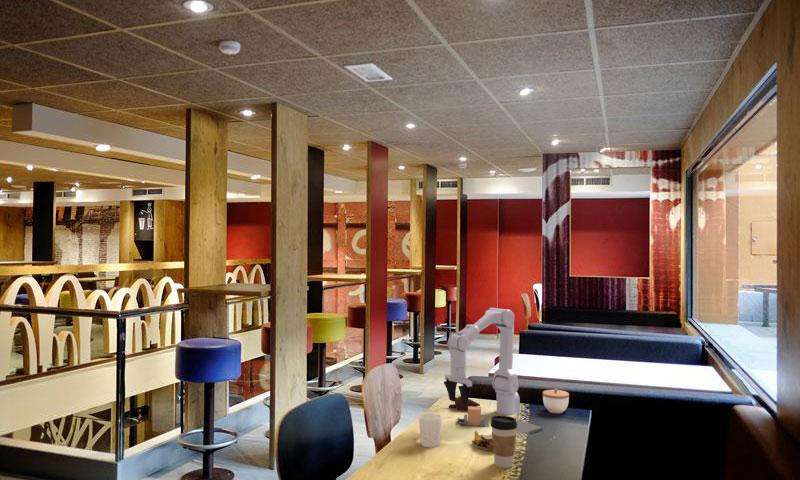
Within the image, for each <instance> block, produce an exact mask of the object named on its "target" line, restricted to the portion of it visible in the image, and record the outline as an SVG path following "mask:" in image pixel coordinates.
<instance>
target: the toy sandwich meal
mask: <svg viewBox="0 0 800 480" xmlns="http://www.w3.org/2000/svg"><path fill="white" fill-rule="evenodd" d="M471 444H472V445H473V446H474V447H475V448H476V449H479V450H483V451H493V440H492V434H479V433H478V431H477V430H476V431H474V440H472V441H471ZM493 452H494V451H493Z"/></svg>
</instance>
